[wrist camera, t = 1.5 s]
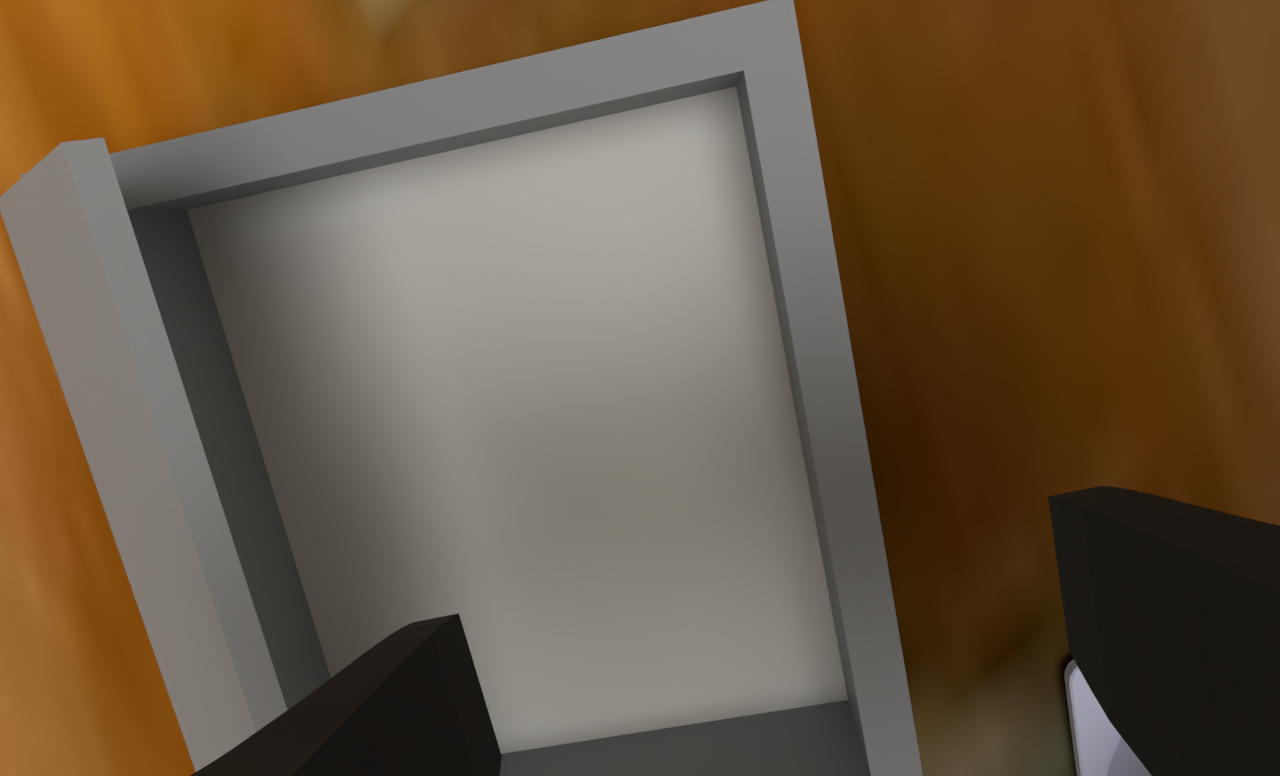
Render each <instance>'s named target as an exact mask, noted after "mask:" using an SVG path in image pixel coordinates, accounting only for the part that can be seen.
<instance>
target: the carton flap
mask: <svg viewBox="0 0 1280 776" xmlns="http://www.w3.org/2000/svg"><path fill="white" fill-rule="evenodd" d="M0 212H1V215H2V218H3V220H4V223H5V226H6V229H7V232H8V235H9V238H10V240H11V243H12V246H13V249H14V252H15V255H16V258H17V261H18V263H19V266H20V269H21V272H22V275H23V278H24V281H25V284H26V286H27V289H28V292H29V295H30V298H31V301H32V304H33V306H34V309H35V312H36V315H37V318H38V321H39V324H40V327H41V329H42V332H43V335H44V338H45V341H46V344H47V347H48V349H49V352H50V355H51V358H52V361H53V364H54V367H55V370H56V372H57V375H58V378H59V381H60V384H61V387H62V390H63V392H64V395H65V398H66V401H67V404H68V407H69V410H70V413H71V415H72V418H73V421H74V424H75V427H76V430H77V433H78V435H79V438H80V441H81V444H82V447H83V450H84V453H85V456H86V458H87V461H88V464H89V467H90V470H91V473H92V476H93V478H94V481H95V484H96V487H97V490H98V493H99V496H100V499H101V501H102V504H103V507H104V510H105V513H106V516H107V519H108V522H109V524H110V527H111V530H112V533H113V536H114V539H115V542H116V544H117V547H118V550H119V553H120V556H121V559H122V562H123V565H124V567H125V570H126V573H127V576H128V579H129V582H130V585H131V587H132V590H133V593H134V596H135V599H136V602H137V605H138V608H139V610H140V613H141V616H142V619H143V622H144V625H145V628H146V630H147V633H148V636H149V639H150V642H151V645H152V648H153V651H154V653H155V656H156V659H157V662H158V665H159V668H160V671H161V673H162V676H163V679H164V682H165V685H166V688H167V691H168V694H169V696H170V699H171V702H172V705H173V708H174V711H175V714H176V716H177V719H178V722H179V725H180V728H181V731H182V734H183V737H184V739H185V742H186V745H187V748H188V751H189V754H190V757H191V760H192V762H193V765H194V768H195V771H196V772H197V771H199V770H200V769H202V768H203V767H205V766H207V765H208V764H210V763H211V762H213V761H215V760H216V759H218V758H219V757H221V756H222V755H224V754H225V753H227V752H228V751H230V750H231V749H233V748H234V747H236V746H237V745H239V744H240V743H242V742H243V741H244V740H246V739H247V738H249V737H250V736H251V735H253V734H254V733H256V732H257V731H259V730H260V729H261V728H263V727H264V726H266V725H267V724H269V723H270V722H271V721H273V720H274V719H276V718H277V717H278V716H280V715H281V714H283V713H284V712H286V711H287V707H286V704H285V701H284V698H283V695H282V692H281V689H280V686H279V682H278V679H277V676H276V673H275V670H274V667H273V664H272V661H271V657H270V654H269V651H268V648H267V645H266V642H265V639H264V636H263V633H262V629H261V626H260V623H259V620H258V617H257V614H256V611H255V608H254V604H253V601H252V598H251V595H250V592H249V589H248V586H247V583H246V580H245V576H244V573H243V570H242V567H241V564H240V561H239V558H238V555H237V552H236V548H235V545H234V542H233V539H232V536H231V533H230V530H229V527H228V523H227V520H226V517H225V514H224V511H223V508H222V505H221V502H220V499H219V495H218V492H217V489H216V486H215V483H214V480H213V477H212V474H211V470H210V467H209V464H208V461H207V458H206V455H205V452H204V449H203V446H202V442H201V439H200V436H199V433H198V430H197V427H196V424H195V421H194V418H193V414H192V411H191V408H190V405H189V402H188V399H187V396H186V393H185V389H184V386H183V383H182V380H181V377H180V374H179V371H178V368H177V365H176V361H175V358H174V355H173V352H172V349H171V346H170V343H169V340H168V337H167V333H166V330H165V327H164V324H163V321H162V318H161V315H160V312H159V308H158V305H157V302H156V299H155V296H154V293H153V290H152V287H151V284H150V280H149V277H148V274H147V271H146V268H145V265H144V262H143V259H142V255H141V252H140V249H139V246H138V243H137V240H136V237H135V234H134V231H133V227H132V224H131V221H130V218H129V215H128V212H127V209H126V206H125V203H124V199H123V196H122V193H121V190H120V187H119V184H118V181H117V178H116V174H115V171H114V168H113V165H112V162H111V159H110V156H109V153H108V150H107V146H106V143H105V140H104V137H103V138H95V139H87V140H79V141H71V142H62V143H61V144H59V145H58V146H57V147H56V148H55V149H54V150H53V151H51V152H50V153H49V154H48V155H47V156H46V157H45V158H44V159H42V160H41V161H40V162H39V163H38V164H37V165H36V166H35V167H33V168H32V169H31V170H30V171H29V172H28V173H27V174H25V175H24V176H23V177H22V178H21V179H20V180H19V181H18V182H16V183H15V184H14V185H13V186H12V187H11V188H10V189H9V190H7V191H6V192H5V193H4V194H3V195H2V196H1V197H0Z"/></svg>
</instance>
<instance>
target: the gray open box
mask: <svg viewBox="0 0 1280 776" xmlns="http://www.w3.org/2000/svg"><path fill="white" fill-rule="evenodd" d="M109 156H110V159H111V162H112V165H113V168H114V171H115V174H116V178H117V181H118V184H119V187H120V190H121V193H122V196H123V199H124V203H125V206H126V209H127V212H128V215H129V218H130V221H131V224H132V227H133V231H134V234H135V237H136V240H137V243H138V246H139V249H140V252H141V255H142V259H143V262H144V265H145V268H146V271H147V274H148V277H149V280H150V284H151V287H152V290H153V293H154V296H155V299H156V302H157V305H158V308H159V312H160V315H161V318H162V321H163V324H164V327H165V330H166V333H167V337H168V340H169V343H170V346H171V349H172V352H173V355H174V358H175V361H176V365H177V368H178V371H179V374H180V377H181V380H182V383H183V386H184V389H185V393H186V396H187V399H188V402H189V405H190V408H191V411H192V414H193V418H194V421H195V424H196V427H197V430H198V433H199V436H200V439H201V442H202V446H203V449H204V452H205V455H206V458H207V461H208V464H209V467H210V470H211V474H212V477H213V480H214V483H215V486H216V489H217V492H218V495H219V499H220V502H221V505H222V508H223V511H224V514H225V517H226V520H227V523H228V527H229V530H230V533H231V536H232V539H233V542H234V545H235V548H236V552H237V555H238V558H239V561H240V564H241V567H242V570H243V573H244V576H245V580H246V583H247V586H248V589H249V592H250V595H251V598H252V601H253V604H254V608H255V611H256V614H257V617H258V620H259V623H260V626H261V629H262V633H263V636H264V639H265V642H266V645H267V648H268V651H269V654H270V657H271V661H272V664H273V667H274V670H275V673H276V676H277V679H278V682H279V686H280V689H281V692H282V695H283V698H284V701H285V704H286V707H287V710H288V709H290V708H291V707H293V706H294V705H296V704H297V703H298V702H300V701H301V700H302V699H304V698H305V697H306V696H308V695H309V694H310V693H312V692H313V691H314V690H316V689H317V688H318V687H320V686H321V685H322V684H324V683H325V682H326V681H328V680H329V679H330V678H332V677H333V676H334V675H336V674H337V673H338V672H340V671H341V670H342V669H344V668H345V667H346V666H348V665H349V664H350V663H352V662H353V661H354V660H356V659H357V658H358V657H360V656H361V655H362V654H364V653H365V652H366V651H368V650H369V649H371V648H372V647H373V646H375V645H376V644H377V643H379V642H380V641H382V640H383V639H385V638H386V637H388V636H389V635H391V634H392V633H394V632H395V631H397V630H399V629H400V628H402V627H404V626H406V625H408V624H410V623H412V622H417V621H422V620H428V619H433V618H438V617H443V616H448V615H453V614H458V613H459V616H460V619H461V622H462V626H463V629H464V632H465V636H466V639H467V642H468V646H469V649H470V652H471V656H472V659H473V662H474V666H475V669H476V672H477V676H478V679H479V682H480V686H481V689H482V692H483V696H484V699H485V702H486V706H487V709H488V712H489V716H490V719H491V722H492V726H493V729H494V732H495V736H496V739H497V742H498V745H499V749H500V752H501V755H502V759H501V768H500V776H923V773H922V767H921V761H920V755H919V749H918V743H917V737H916V731H915V725H914V719H913V713H912V707H911V701H910V695H909V689H908V683H907V677H906V671H905V665H904V659H903V653H902V647H901V641H900V635H899V629H898V623H897V617H896V611H895V605H894V599H893V593H892V587H891V581H890V575H889V569H888V563H887V557H886V551H885V545H884V540H883V534H882V528H881V522H880V516H879V510H878V504H877V498H876V492H875V486H874V480H873V474H872V468H871V462H870V456H869V450H868V444H867V438H866V432H865V426H864V420H863V414H862V408H861V402H860V396H859V390H858V384H857V378H856V372H855V366H854V360H853V354H852V348H851V342H850V336H849V330H848V324H847V318H846V312H845V306H844V300H843V294H842V288H841V282H840V276H839V270H838V264H837V258H836V252H835V246H834V240H833V234H832V228H831V222H830V217H829V211H828V205H827V199H826V193H825V187H824V181H823V175H822V169H821V163H820V157H819V151H818V145H817V139H816V133H815V127H814V121H813V115H812V109H811V103H810V97H809V91H808V85H807V79H806V73H805V67H804V61H803V55H802V49H801V43H800V37H799V31H798V25H797V19H796V13H795V7H794V1H793V0H768V1H764V2H759V3H755V4H751V5H746V6H742V7H738V8H734V9H729V10H725V11H721V12H716V13H712V14H708V15H704V16H699V17H695V18H691V19H686V20H682V21H678V22H674V23H669V24H665V25H661V26H656V27H652V28H648V29H644V30H639V31H635V32H631V33H626V34H622V35H618V36H614V37H609V38H605V39H601V40H596V41H592V42H588V43H583V44H579V45H575V46H571V47H566V48H562V49H558V50H553V51H549V52H545V53H541V54H536V55H532V56H528V57H523V58H519V59H515V60H511V61H506V62H502V63H498V64H493V65H489V66H485V67H481V68H476V69H472V70H468V71H463V72H459V73H455V74H451V75H446V76H442V77H438V78H433V79H429V80H425V81H421V82H416V83H412V84H408V85H403V86H399V87H395V88H391V89H386V90H382V91H378V92H373V93H369V94H365V95H361V96H356V97H352V98H348V99H343V100H339V101H335V102H331V103H326V104H322V105H318V106H313V107H309V108H305V109H300V110H296V111H292V112H288V113H283V114H279V115H275V116H270V117H266V118H262V119H258V120H253V121H249V122H245V123H240V124H236V125H232V126H228V127H223V128H219V129H215V130H210V131H206V132H202V133H198V134H193V135H189V136H185V137H180V138H176V139H172V140H168V141H163V142H159V143H155V144H150V145H146V146H142V147H138V148H133V149H129V150H125V151H120V152H116V153H112V154H109ZM26 174H27V173H26ZM24 175H25V174H22V175H21V178H22V177H23V176H24Z"/></svg>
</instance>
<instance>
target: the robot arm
mask: <svg viewBox="0 0 1280 776" xmlns="http://www.w3.org/2000/svg"><path fill="white" fill-rule="evenodd" d="M1048 498H1049V505H1050V512H1051V519H1052V527H1053V534H1054V541H1055V548H1056V556H1057V563H1058V570H1059V577H1060V585H1061V592H1062V599H1063V606H1064V613H1065V621H1066V628H1067V635H1068V642H1069V650H1070V653H1071V655H1072V657H1073V660H1072V661H1071V662H1069V664H1068V665H1067V667H1066V669H1065V676H1064V679H1065V687H1066V694H1067V702H1068V710H1069V718H1070V725H1071V733H1072V741H1073V749H1074V757H1075V764H1076V772H1077V776H1280V526H1278V525H1273V524H1269V523H1264V522H1260V521H1256V520H1252V519H1248V518H1243V517H1239V516H1235V515H1231V514H1227V513H1223V512H1219V511H1215V510H1211V509H1208V508H1204V507H1200V506H1196V505H1192V504H1188V503H1184V502H1180V501H1176V500H1172V499H1168V498H1164V497H1160V496H1156V495H1152V494H1147V493H1143V492H1138V491H1133V490H1128V489H1123V488H1116V487H1107V486H1100V487H1095V488H1090V489H1085V490H1080V491H1074V492H1069V493H1064V494H1059V495H1054V496H1049V497H1048ZM501 759H502V755H501V752H500V749H499V745H498V742H497V739H496V736H495V732H494V729H493V726H492V722H491V719H490V716H489V712H488V709H487V706H486V702H485V699H484V696H483V692H482V689H481V686H480V682H479V679H478V676H477V672H476V669H475V666H474V662H473V659H472V656H471V652H470V649H469V646H468V642H467V639H466V636H465V632H464V629H463V626H462V622H461V619H460V616H459V613H458V614H453V615H448V616H443V617H438V618H433V619H428V620H422V621H417V622H412V623H410V624H408V625H406V626H404V627H402V628H400V629H399V630H397V631H395V632H394V633H392V634H391V635H389V636H388V637H386V638H385V639H383V640H382V641H380V642H379V643H377V644H376V645H375V646H373V647H372V648H371V649H369V650H368V651H366V652H365V653H364V654H362V655H361V656H360V657H358V658H357V659H356V660H354V661H353V662H352V663H350V664H349V665H348V666H346V667H345V668H344V669H342V670H341V671H340V672H338V673H337V674H336V675H334V676H333V677H332V678H330V679H329V680H328V681H326V682H325V683H324V684H322V685H321V686H320V687H318V688H317V689H316V690H314V691H313V692H312V693H310V694H309V695H308V696H306V697H305V698H304V699H302V700H301V701H300V702H298V703H297V704H296V705H294V706H293V707H291V708H290V709H288V710H287V711H286V712H284V713H283V714H281V715H280V716H278V717H277V718H276V719H274V720H273V721H271V722H270V723H269V724H267V725H266V726H264V727H263V728H261V729H260V730H259V731H257V732H256V733H254V734H253V735H251V736H250V737H249V738H247V739H246V740H244V741H243V742H242V743H240V744H239V745H237V746H236V747H234V748H233V749H231V750H230V751H228V752H227V753H225V754H224V755H222V756H221V757H219V758H218V759H216V760H215V761H213V762H211V763H210V764H208V765H207V766H205V767H203V768H202V769H200V770H199V771H197V772H196V773H194V774H192V775H191V776H500V768H501Z"/></svg>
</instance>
